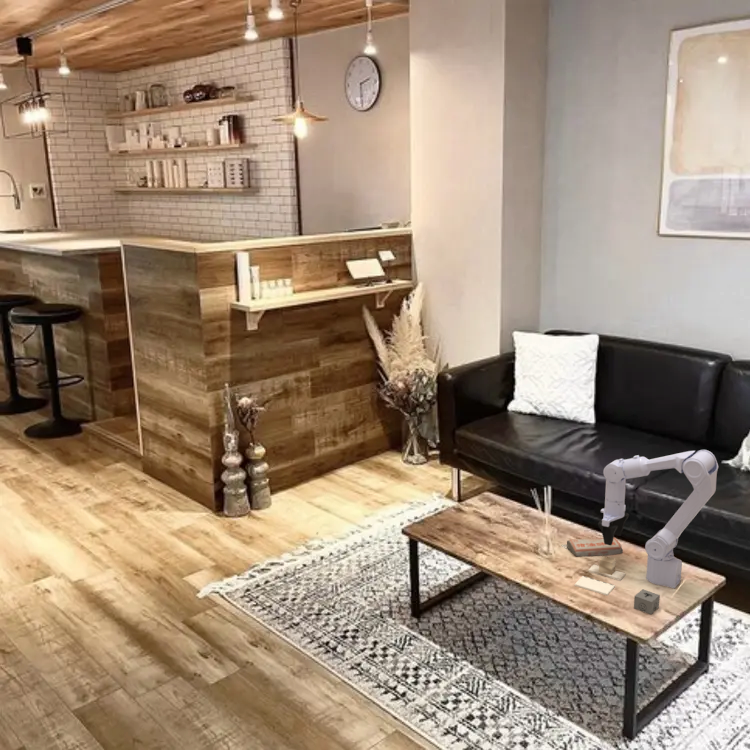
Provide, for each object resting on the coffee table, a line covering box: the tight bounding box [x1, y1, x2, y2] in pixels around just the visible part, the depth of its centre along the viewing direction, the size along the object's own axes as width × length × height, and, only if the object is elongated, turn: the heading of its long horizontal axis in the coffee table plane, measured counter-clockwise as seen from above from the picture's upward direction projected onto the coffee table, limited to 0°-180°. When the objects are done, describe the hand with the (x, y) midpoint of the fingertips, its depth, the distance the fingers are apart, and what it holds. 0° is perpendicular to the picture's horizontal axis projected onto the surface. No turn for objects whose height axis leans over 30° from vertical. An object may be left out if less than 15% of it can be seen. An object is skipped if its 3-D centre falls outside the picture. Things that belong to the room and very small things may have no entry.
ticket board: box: [574, 575, 616, 596], centre depth 231 cm, size 18×16×2 cm
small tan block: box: [587, 555, 626, 582], centre depth 235 cm, size 10×4×5 cm, turn 53°
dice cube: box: [633, 589, 661, 615], centre depth 216 cm, size 5×5×5 cm
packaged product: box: [561, 537, 624, 557], centre depth 250 cm, size 18×5×10 cm
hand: (612, 539), depth 239 cm, fingers open, 7 cm apart
